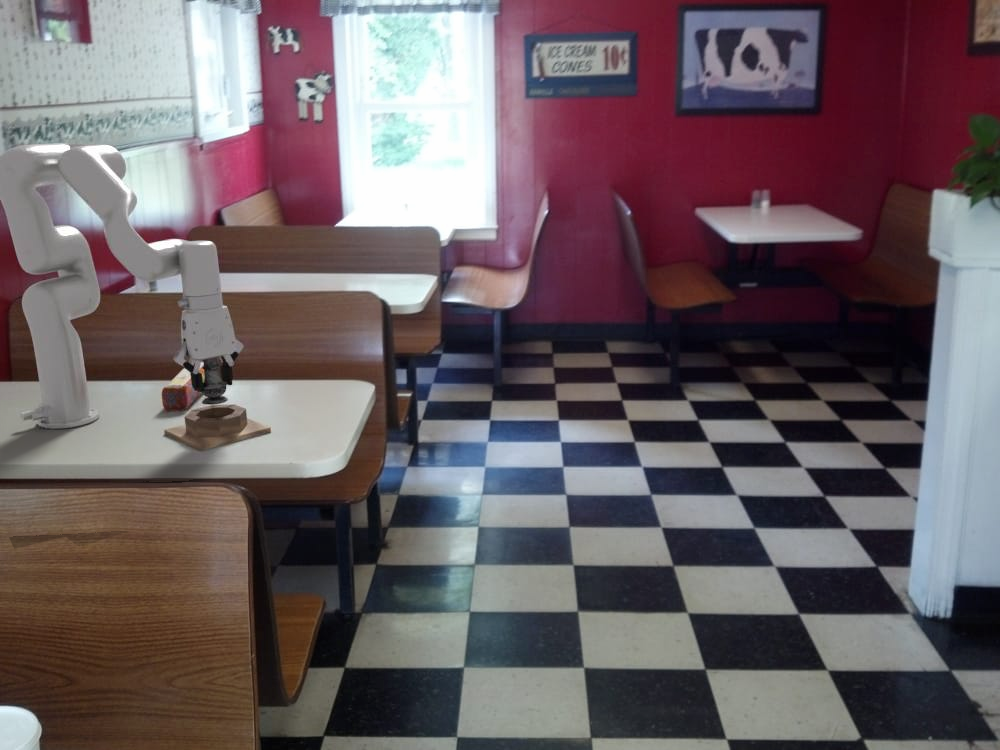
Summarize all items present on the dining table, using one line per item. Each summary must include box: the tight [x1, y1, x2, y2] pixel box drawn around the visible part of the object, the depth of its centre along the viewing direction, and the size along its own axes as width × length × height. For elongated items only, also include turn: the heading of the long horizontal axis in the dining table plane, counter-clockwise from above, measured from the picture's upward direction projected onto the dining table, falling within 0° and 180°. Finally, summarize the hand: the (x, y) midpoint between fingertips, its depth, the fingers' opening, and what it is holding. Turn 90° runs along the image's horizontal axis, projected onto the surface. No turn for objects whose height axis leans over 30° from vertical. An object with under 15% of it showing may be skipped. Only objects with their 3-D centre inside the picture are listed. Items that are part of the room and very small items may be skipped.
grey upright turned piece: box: [201, 357, 229, 406], centre depth 211 cm, size 6×6×12 cm
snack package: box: [161, 361, 205, 412], centre depth 240 cm, size 21×7×7 cm, turn 1°
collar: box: [163, 404, 272, 452], centre depth 214 cm, size 16×16×4 cm
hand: (213, 386), depth 211 cm, fingers closed on grey upright turned piece, 5 cm apart
